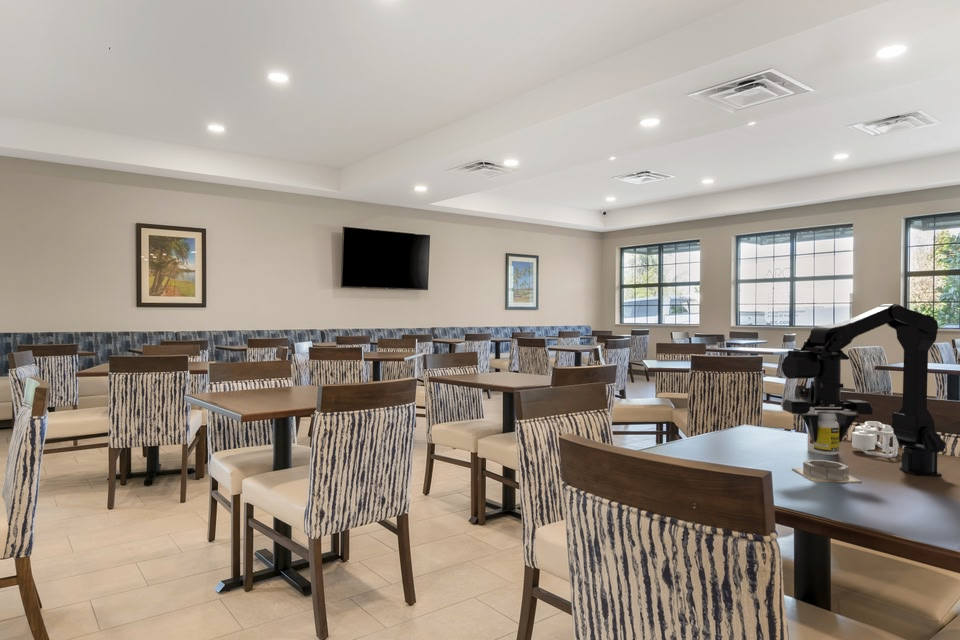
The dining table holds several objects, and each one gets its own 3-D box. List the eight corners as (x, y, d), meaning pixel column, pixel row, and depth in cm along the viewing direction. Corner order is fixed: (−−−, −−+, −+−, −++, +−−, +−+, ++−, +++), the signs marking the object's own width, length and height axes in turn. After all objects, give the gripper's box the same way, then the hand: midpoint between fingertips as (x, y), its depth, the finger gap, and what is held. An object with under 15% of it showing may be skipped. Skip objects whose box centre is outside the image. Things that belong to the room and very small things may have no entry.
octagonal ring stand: (836, 472, 153) (837, 459, 153) (861, 484, 142) (861, 470, 142) (792, 471, 153) (792, 458, 153) (813, 483, 142) (813, 469, 142)
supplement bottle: (834, 456, 144) (833, 415, 144) (810, 452, 148) (809, 412, 148) (843, 452, 147) (842, 412, 147) (819, 449, 151) (818, 409, 151)
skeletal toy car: (855, 442, 190) (855, 419, 190) (898, 447, 183) (898, 423, 183) (850, 454, 174) (851, 429, 173) (897, 460, 167) (897, 433, 167)
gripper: (848, 375, 155) (847, 435, 155) (773, 374, 156) (773, 434, 156) (874, 379, 144) (873, 445, 144) (793, 379, 145) (792, 444, 145)
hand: (826, 441), depth 147 cm, fingers closed on supplement bottle, 5 cm apart
